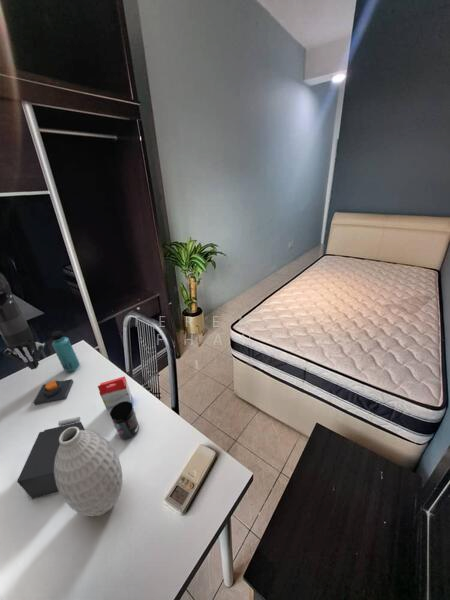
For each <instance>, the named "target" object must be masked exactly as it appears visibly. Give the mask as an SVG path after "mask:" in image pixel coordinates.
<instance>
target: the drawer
mask: <svg viewBox="0 0 450 600" xmlns="http://www.w3.org/2000/svg"><path fill="white" fill-rule="evenodd" d="M79 423H81V424H82V426H83V428H84V430H85V431H86V429H85V427H84V425H83V423H82V421H81V417H80V416H76V417H72V418H67V419H63V420H59V421H58V426H56V427H52V428H47V429H44V430H43V431H47V430H52V429H56V428H61V427H65V426H70V425H74V424H79Z"/></svg>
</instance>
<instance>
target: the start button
mask: <svg viewBox="0 0 450 600" xmlns="http://www.w3.org/2000/svg"><path fill="white" fill-rule="evenodd" d="M55 381H56V380H52V381H49V382H47V383H45V384H46V386H45V388H46V389H47V391H52V390H54V389H55V388H57V383H56V382H55Z"/></svg>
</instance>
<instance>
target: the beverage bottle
mask: <svg viewBox="0 0 450 600" xmlns="http://www.w3.org/2000/svg"><path fill="white" fill-rule="evenodd" d="M50 336H51V339H52V340H53V341H52V343H51V347H52V348H53V350H54V353H55V354H56V357H57V359H58V360H59V363H60V364H61V367H62V369H63V370H64V371H66V372H72V371H75V370H76V369H77V368H78V367H79V366H80V361H79V358H78V356H77V354H76V352H75V351H74V348H73V345H72V344H71V341H70V338H69V337H66V336H65V334H64V333H63V331H62V330H55V331H54V332H52V333H51V335H50Z"/></svg>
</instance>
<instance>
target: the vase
mask: <svg viewBox="0 0 450 600" xmlns="http://www.w3.org/2000/svg"><path fill="white" fill-rule="evenodd" d="M59 443H60V445H59V448H58V450H57V453H56V456H55V461H54V477H55V482H56V485H57V488H58V491H59V492H58V493H59V494H60V496H61V497H62V499H63V500H64V502H65V503H66V504H67V505H68V506H69V507H70V508H71V509H72V510H73V511H75V512H76V513H78V514H80V515H83V516H87V517H99V516H101V515H104V514H106V513H107V512H109V511H110V510H111V509H112V508H113V507H114V506H115V505H116V503H117V502H118V500H119V498H120V496H121V492H122V488H123V477H124V476H123V470H122V469H123V468H122V464H121V461H120V458H119V456H118V453H117V452H116V450H115V448H114V446H113V445H112V443H111V442H110V441H109V440H108V439H107V438H105V437H104V436H103V435H101V434H99V433H98V432H95V431H93V430H92V431H91V430H86V429H85V430H79V428H77V427H70V428H68V429H66V430H65V431H63V432H62V434H61V435H60V437H59Z"/></svg>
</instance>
